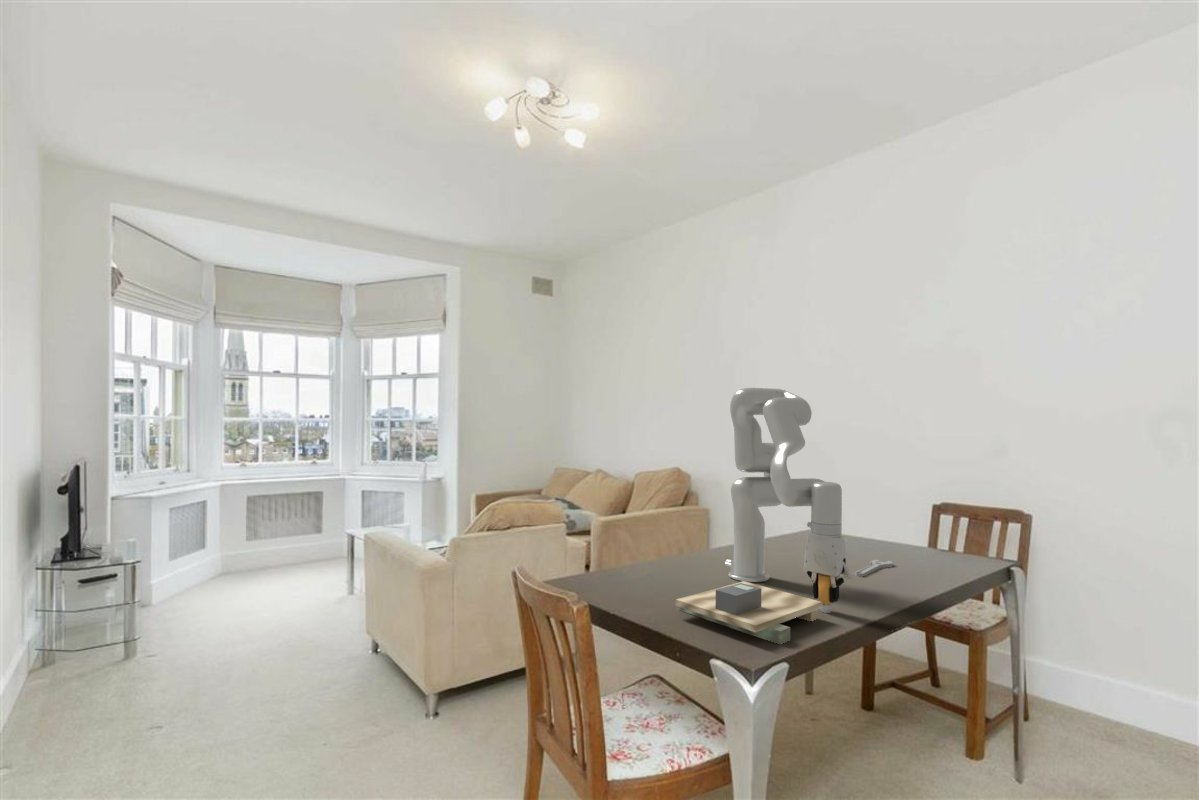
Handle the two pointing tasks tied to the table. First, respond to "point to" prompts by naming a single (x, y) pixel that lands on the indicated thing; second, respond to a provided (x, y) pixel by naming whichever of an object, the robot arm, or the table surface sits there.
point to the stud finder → (738, 598)
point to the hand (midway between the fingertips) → (825, 598)
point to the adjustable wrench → (873, 567)
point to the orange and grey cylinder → (824, 592)
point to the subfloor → (755, 612)
